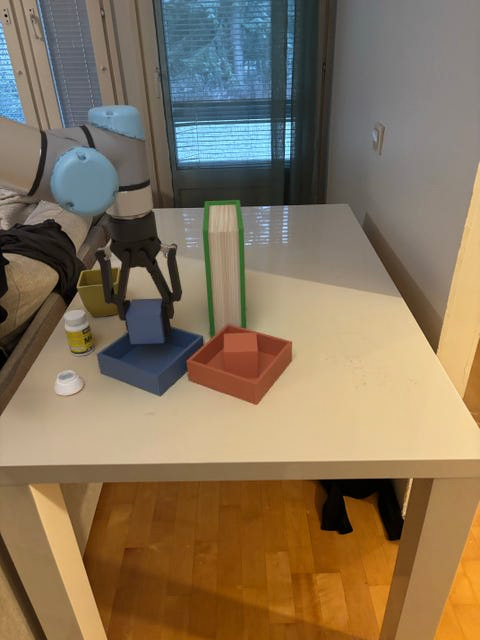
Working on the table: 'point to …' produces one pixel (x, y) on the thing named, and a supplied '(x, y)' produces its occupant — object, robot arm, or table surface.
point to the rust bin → (211, 374)
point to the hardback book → (224, 264)
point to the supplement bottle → (78, 333)
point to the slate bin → (150, 360)
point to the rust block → (241, 354)
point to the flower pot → (97, 292)
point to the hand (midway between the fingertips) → (149, 333)
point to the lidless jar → (68, 383)
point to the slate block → (145, 321)
